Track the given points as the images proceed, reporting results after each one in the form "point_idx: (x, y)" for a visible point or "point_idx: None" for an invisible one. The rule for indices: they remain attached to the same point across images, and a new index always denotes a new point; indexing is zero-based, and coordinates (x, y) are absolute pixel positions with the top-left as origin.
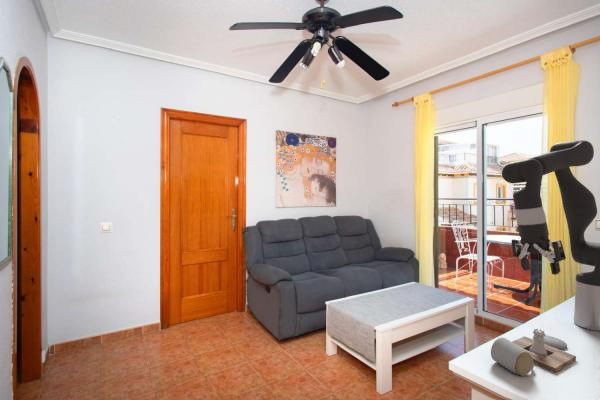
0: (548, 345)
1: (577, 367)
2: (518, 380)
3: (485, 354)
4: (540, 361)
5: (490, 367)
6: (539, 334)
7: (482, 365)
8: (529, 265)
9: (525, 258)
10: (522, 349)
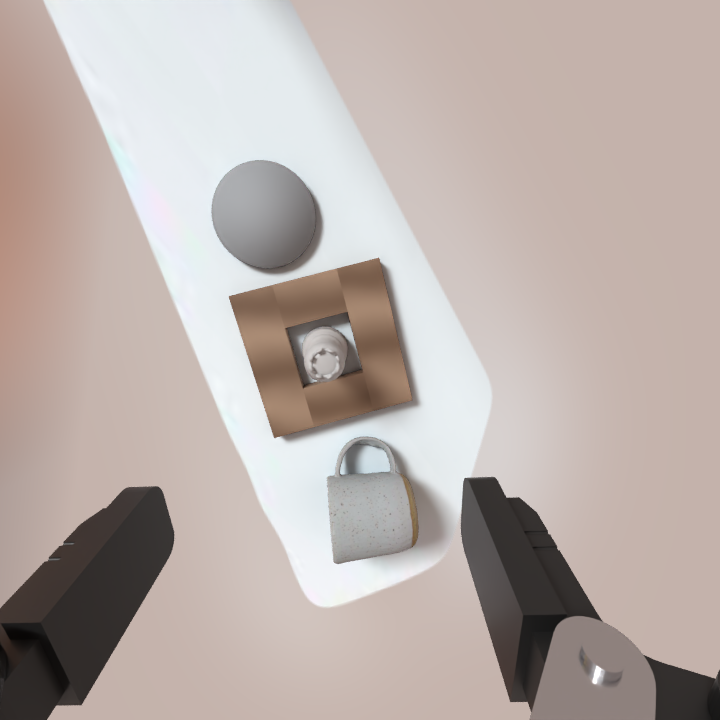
0: (292, 259)
1: (405, 298)
2: None
3: (289, 505)
4: (375, 407)
5: None
6: (336, 376)
7: None
8: (127, 520)
9: (44, 680)
10: (403, 529)
